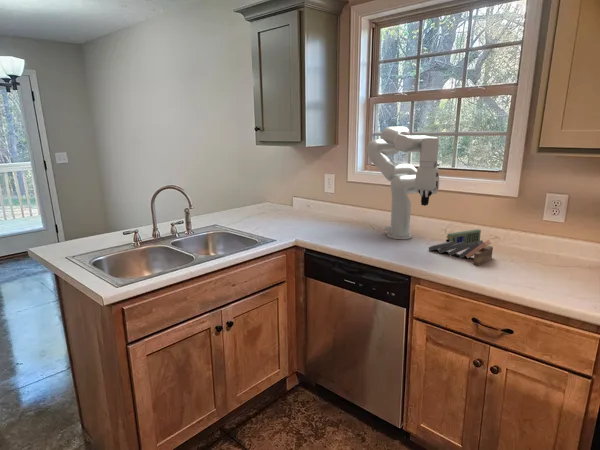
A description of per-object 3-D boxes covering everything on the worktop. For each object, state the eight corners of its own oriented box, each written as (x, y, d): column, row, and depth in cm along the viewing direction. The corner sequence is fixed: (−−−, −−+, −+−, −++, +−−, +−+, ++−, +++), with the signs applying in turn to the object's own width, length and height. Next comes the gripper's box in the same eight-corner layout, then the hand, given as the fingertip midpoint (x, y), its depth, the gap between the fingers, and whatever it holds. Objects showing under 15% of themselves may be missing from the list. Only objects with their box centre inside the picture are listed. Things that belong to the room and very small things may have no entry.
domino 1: (428, 247, 179) (448, 243, 171) (433, 245, 182) (453, 240, 175) (429, 250, 178) (449, 246, 171) (434, 248, 182) (454, 244, 174)
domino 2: (438, 249, 175) (458, 243, 168) (443, 247, 179) (463, 241, 171) (439, 253, 175) (459, 247, 168) (444, 250, 178) (465, 244, 171)
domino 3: (448, 252, 172) (468, 243, 165) (453, 249, 175) (473, 241, 168) (450, 255, 172) (470, 247, 165) (455, 253, 175) (475, 244, 168)
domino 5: (465, 255, 166) (483, 242, 160) (470, 252, 170) (488, 239, 163) (467, 258, 166) (486, 245, 159) (472, 255, 169) (491, 243, 163)
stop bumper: (473, 264, 160) (474, 253, 159) (486, 256, 170) (488, 245, 168) (478, 265, 159) (479, 254, 158) (491, 258, 168) (492, 246, 167)
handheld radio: (481, 243, 190) (441, 249, 181) (475, 241, 193) (436, 248, 184) (482, 229, 189) (442, 235, 179) (476, 228, 192) (437, 234, 182)
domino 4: (458, 255, 169) (476, 242, 162) (463, 252, 172) (481, 240, 165) (461, 258, 168) (479, 245, 162) (466, 255, 171) (484, 243, 165)
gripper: (447, 165, 172) (443, 206, 177) (417, 163, 183) (414, 201, 188) (439, 167, 168) (435, 208, 172) (408, 164, 178) (405, 203, 183)
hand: (424, 205), depth 180 cm, fingers closed
